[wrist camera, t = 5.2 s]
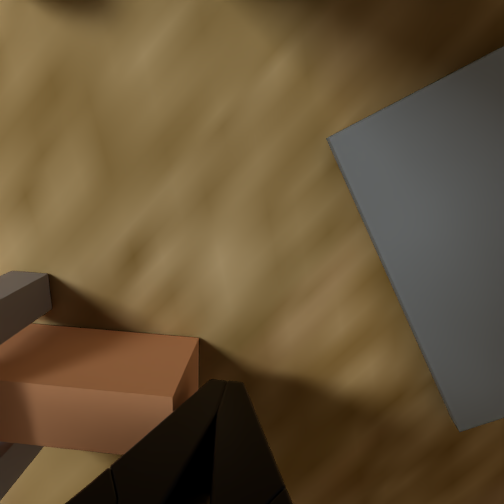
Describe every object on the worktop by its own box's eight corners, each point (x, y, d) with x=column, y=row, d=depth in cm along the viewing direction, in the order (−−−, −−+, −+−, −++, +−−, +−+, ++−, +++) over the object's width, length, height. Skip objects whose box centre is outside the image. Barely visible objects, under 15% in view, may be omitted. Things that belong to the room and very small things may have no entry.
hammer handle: (198, 389, 10) (173, 460, 8) (-104, 360, 11) (-209, 418, 9) (198, 337, 10) (172, 397, 7) (-117, 310, 10) (-231, 357, 8)
